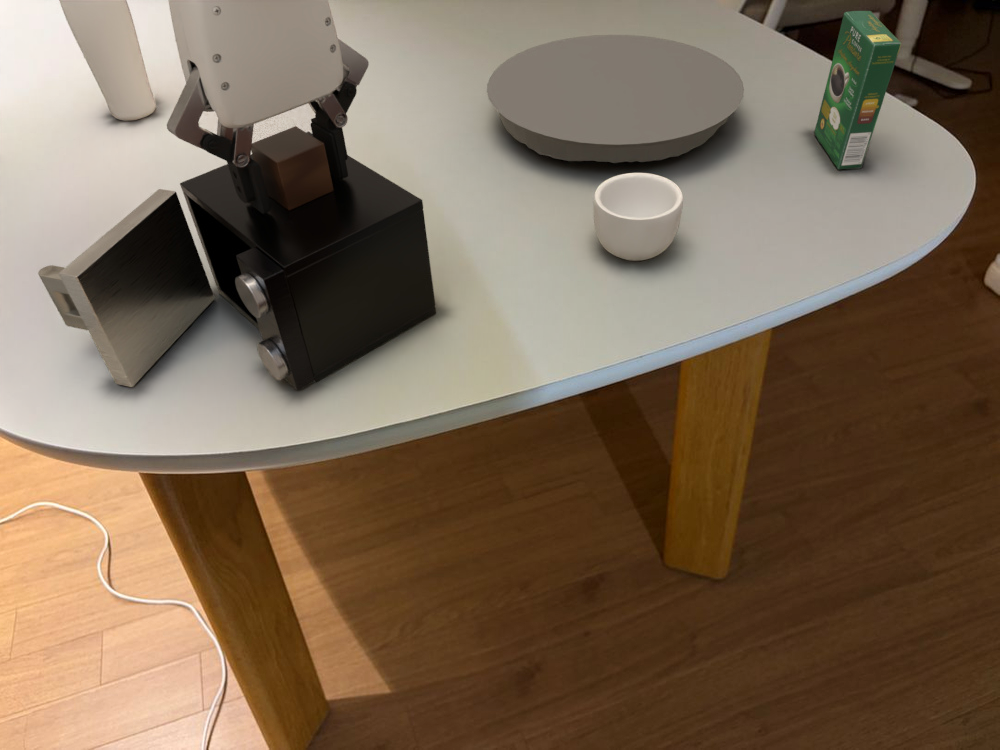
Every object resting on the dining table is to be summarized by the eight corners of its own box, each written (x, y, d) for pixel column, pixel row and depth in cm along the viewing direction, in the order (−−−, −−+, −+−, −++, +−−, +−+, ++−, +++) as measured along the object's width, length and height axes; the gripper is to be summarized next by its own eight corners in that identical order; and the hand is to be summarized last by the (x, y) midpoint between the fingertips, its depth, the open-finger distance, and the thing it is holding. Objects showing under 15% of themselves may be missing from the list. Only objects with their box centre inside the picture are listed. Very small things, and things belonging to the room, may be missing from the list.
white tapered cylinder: (170, 114, 98) (126, -16, 87) (114, 130, 95) (61, -2, 85) (154, 95, 102) (109, -31, 92) (100, 111, 99) (48, -18, 89)
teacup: (654, 281, 69) (660, 229, 66) (576, 256, 73) (577, 205, 69) (698, 225, 75) (706, 174, 72) (624, 204, 79) (628, 154, 75)
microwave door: (56, 370, 64) (-7, 260, 57) (145, 285, 72) (99, 179, 65) (132, 387, 62) (76, 276, 55) (215, 298, 70) (176, 191, 63)
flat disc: (514, 65, 104) (513, 30, 101) (736, 75, 99) (742, 39, 96) (463, 175, 84) (460, 135, 81) (737, 194, 79) (745, 152, 76)
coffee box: (865, 170, 81) (904, 40, 72) (837, 172, 81) (872, 42, 72) (838, 133, 87) (871, 8, 78) (812, 134, 87) (842, 10, 78)
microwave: (289, 398, 61) (252, 282, 53) (193, 305, 70) (150, 194, 62) (436, 313, 68) (422, 199, 60) (332, 238, 77) (308, 131, 69)
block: (289, 211, 60) (276, 162, 57) (262, 191, 62) (249, 144, 59) (334, 191, 61) (324, 143, 59) (306, 172, 64) (295, 125, 61)
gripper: (319, -109, 55) (361, 134, 68) (71, -49, 47) (170, 214, 60) (383, -90, 51) (415, 165, 63) (123, -21, 43) (218, 255, 55)
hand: (296, 186), depth 61 cm, fingers open, 6 cm apart
